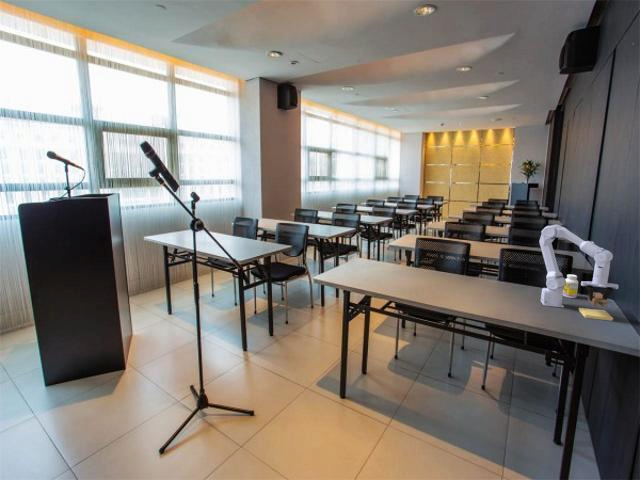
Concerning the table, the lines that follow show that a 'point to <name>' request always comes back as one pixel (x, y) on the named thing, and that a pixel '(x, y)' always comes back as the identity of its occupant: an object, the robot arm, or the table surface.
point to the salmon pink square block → (597, 295)
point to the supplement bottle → (571, 286)
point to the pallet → (598, 301)
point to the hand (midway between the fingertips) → (597, 300)
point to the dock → (595, 314)
